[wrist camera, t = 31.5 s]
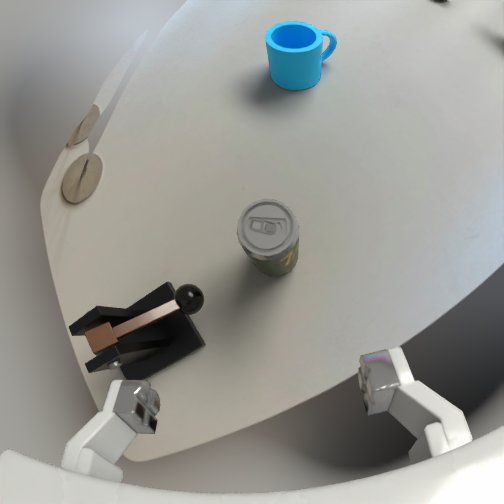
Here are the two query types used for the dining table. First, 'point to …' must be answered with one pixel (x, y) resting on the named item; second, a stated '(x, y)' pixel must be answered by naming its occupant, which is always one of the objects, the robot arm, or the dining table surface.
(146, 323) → the lever
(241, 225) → the green drink can
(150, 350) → the bracket
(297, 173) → the dining table surface
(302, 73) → the mug
